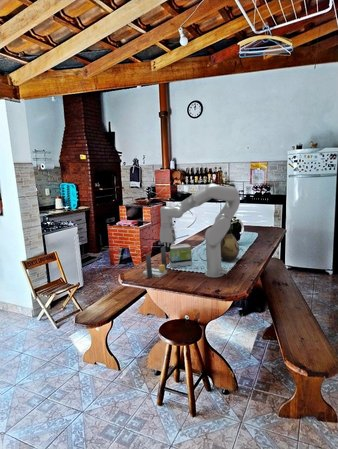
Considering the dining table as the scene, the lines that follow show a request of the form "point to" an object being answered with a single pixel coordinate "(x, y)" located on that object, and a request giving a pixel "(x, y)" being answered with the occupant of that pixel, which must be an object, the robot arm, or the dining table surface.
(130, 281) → the dining table surface
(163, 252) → the post right
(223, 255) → the ceramic jug
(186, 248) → the tea box
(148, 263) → the post left
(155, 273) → the panel
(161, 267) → the toggle amber
